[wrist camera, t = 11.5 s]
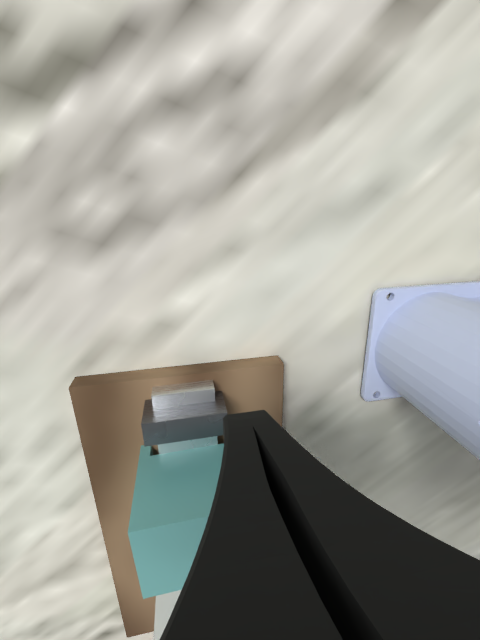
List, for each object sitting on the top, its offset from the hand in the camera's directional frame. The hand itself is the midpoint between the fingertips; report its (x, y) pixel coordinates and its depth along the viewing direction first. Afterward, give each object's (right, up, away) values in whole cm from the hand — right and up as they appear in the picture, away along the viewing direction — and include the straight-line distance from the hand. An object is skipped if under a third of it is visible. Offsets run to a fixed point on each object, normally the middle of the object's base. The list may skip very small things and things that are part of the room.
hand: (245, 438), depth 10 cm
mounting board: (-3, -9, +13) cm, 16 cm away
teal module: (-3, -6, +10) cm, 12 cm away
